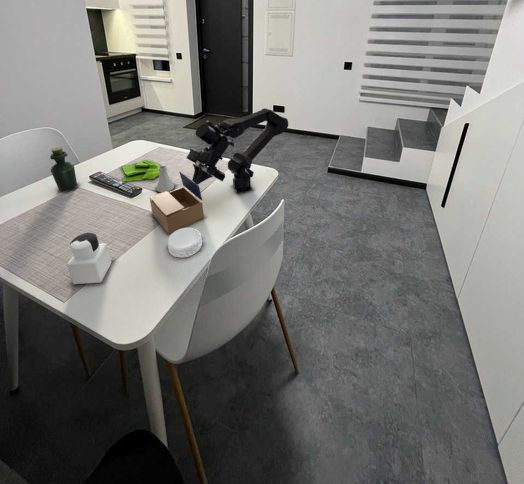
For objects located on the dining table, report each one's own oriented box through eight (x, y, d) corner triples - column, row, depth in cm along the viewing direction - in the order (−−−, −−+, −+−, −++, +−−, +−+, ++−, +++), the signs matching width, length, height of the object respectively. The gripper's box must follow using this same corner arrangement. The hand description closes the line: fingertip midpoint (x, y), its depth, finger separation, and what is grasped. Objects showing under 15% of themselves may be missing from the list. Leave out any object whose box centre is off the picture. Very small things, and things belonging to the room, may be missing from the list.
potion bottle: (83, 182, 124) (73, 144, 117) (72, 192, 117) (60, 152, 110) (64, 183, 124) (53, 144, 117) (52, 193, 116) (39, 153, 110)
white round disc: (185, 263, 82) (183, 254, 80) (161, 250, 87) (160, 241, 85) (208, 242, 89) (207, 233, 88) (186, 231, 94) (184, 222, 93)
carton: (185, 200, 111) (183, 184, 108) (203, 217, 101) (202, 200, 98) (152, 214, 103) (149, 197, 100) (168, 234, 93) (165, 215, 91)
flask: (169, 193, 116) (165, 172, 112) (153, 192, 117) (149, 170, 113) (177, 184, 122) (174, 164, 119) (162, 183, 124) (158, 162, 120)
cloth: (157, 181, 125) (156, 176, 124) (107, 181, 125) (106, 176, 124) (171, 161, 144) (171, 156, 143) (128, 161, 144) (127, 156, 143)
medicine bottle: (86, 264, 82) (75, 230, 77) (112, 262, 82) (103, 228, 78) (73, 285, 75) (60, 249, 70) (101, 283, 76) (90, 247, 71)
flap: (183, 185, 108) (184, 184, 108) (201, 200, 98) (202, 200, 99) (179, 171, 105) (180, 170, 105) (197, 185, 96) (198, 185, 96)
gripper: (188, 132, 106) (163, 168, 103) (215, 147, 93) (188, 188, 90) (208, 146, 114) (186, 180, 111) (236, 162, 101) (211, 200, 98)
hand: (191, 186), depth 103 cm, fingers closed, pressing on flap
